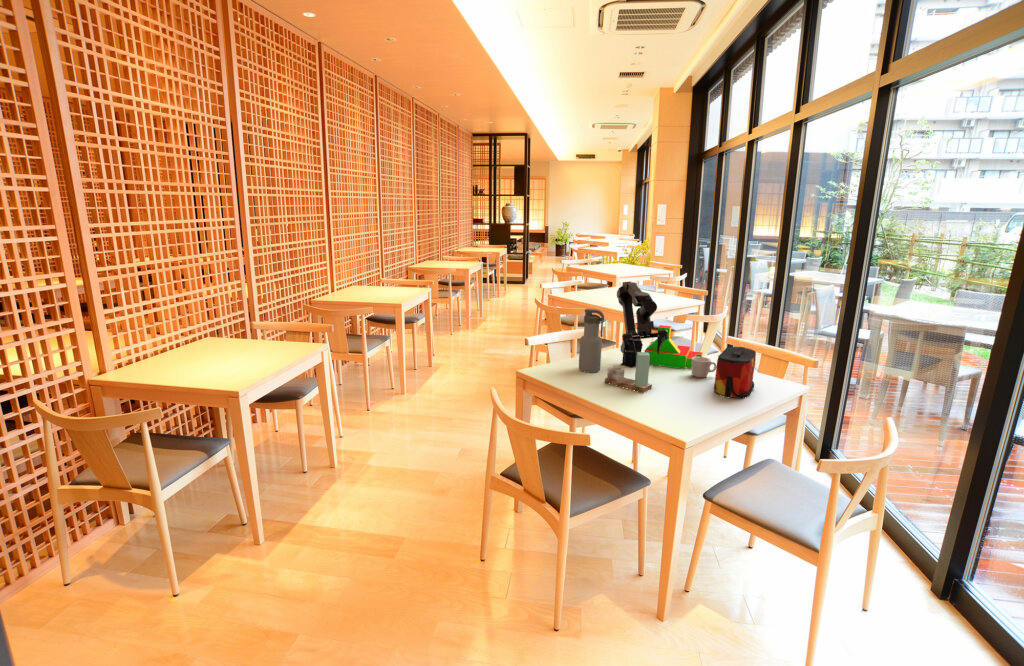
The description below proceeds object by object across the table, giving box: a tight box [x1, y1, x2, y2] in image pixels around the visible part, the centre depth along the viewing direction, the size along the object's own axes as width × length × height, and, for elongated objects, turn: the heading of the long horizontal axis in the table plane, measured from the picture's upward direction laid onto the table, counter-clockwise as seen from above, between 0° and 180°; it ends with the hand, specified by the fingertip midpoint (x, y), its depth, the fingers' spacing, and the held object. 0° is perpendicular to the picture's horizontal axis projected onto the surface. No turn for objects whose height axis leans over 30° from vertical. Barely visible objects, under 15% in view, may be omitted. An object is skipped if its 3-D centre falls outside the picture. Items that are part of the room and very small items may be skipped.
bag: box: [713, 346, 757, 399], centre depth 216 cm, size 30×14×16 cm, turn 147°
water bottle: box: [578, 308, 605, 373], centre depth 237 cm, size 10×10×28 cm
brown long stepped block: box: [604, 366, 653, 394], centre depth 219 cm, size 18×7×6 cm, turn 48°
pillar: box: [634, 351, 650, 387], centre depth 213 cm, size 4×4×13 cm
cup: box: [691, 356, 717, 379], centre depth 233 cm, size 11×8×8 cm
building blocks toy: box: [643, 324, 704, 370], centre depth 253 cm, size 19×25×18 cm
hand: (646, 355), depth 223 cm, fingers open, 9 cm apart
